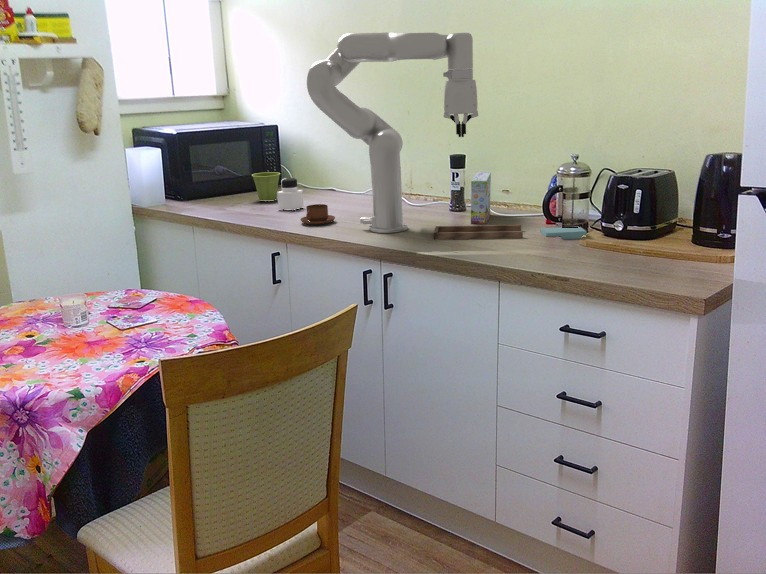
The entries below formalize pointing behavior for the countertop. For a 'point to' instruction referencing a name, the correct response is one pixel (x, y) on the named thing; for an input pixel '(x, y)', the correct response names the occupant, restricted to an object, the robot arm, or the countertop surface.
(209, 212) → the countertop surface
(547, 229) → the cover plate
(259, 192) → the plant pot
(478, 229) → the walnut box
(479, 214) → the snack box
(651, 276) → the countertop surface
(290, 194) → the medicine bottle
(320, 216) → the cup and saucer
